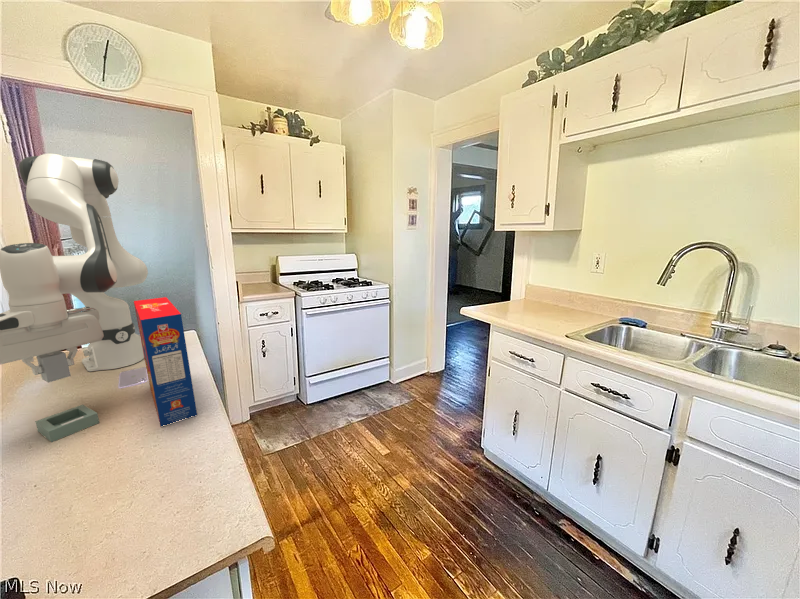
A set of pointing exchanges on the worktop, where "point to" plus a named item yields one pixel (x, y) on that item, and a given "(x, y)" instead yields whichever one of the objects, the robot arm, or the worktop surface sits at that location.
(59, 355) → the block
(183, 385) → the pasta box
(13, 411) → the worktop surface
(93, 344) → the robot arm
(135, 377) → the mobile phone
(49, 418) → the green square tray
